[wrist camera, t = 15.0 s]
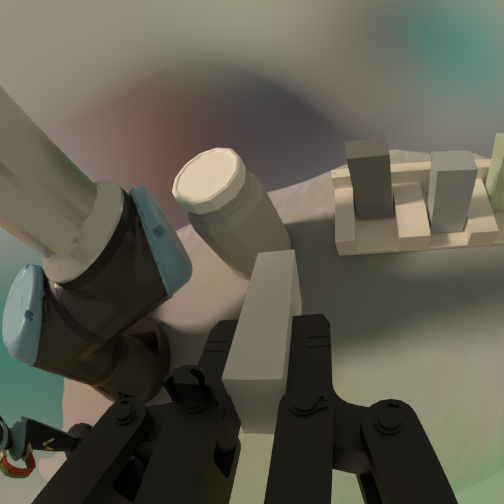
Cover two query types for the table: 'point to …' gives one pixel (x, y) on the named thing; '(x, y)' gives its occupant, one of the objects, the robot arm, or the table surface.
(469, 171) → the key slate
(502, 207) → the key sage
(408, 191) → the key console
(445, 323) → the table surface
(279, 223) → the jar
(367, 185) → the key charcoal
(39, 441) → the electric shaver
